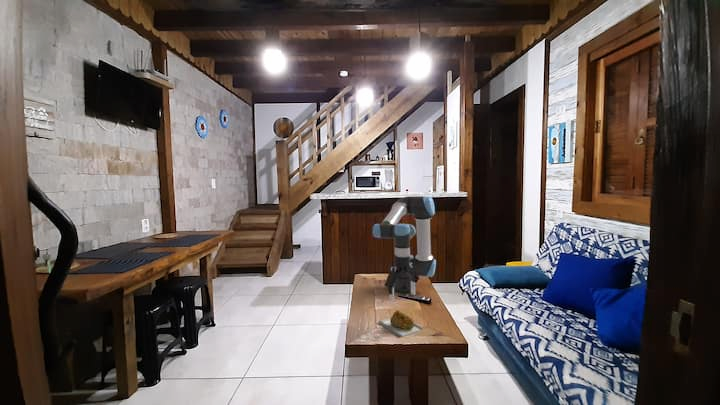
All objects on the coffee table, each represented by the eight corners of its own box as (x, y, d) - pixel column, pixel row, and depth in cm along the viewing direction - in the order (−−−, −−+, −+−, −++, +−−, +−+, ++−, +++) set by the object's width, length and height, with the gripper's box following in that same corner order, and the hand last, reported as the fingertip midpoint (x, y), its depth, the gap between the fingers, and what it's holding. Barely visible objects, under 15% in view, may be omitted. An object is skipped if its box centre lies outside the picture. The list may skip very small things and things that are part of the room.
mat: (399, 316, 166) (399, 314, 166) (422, 329, 151) (422, 327, 151) (378, 322, 159) (378, 320, 159) (400, 337, 144) (400, 334, 144)
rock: (402, 329, 158) (415, 317, 157) (404, 340, 150) (419, 326, 149) (386, 316, 157) (400, 303, 155) (388, 326, 149) (402, 312, 147)
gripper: (416, 250, 161) (416, 289, 163) (377, 257, 148) (377, 300, 150) (426, 253, 154) (426, 293, 156) (386, 261, 142) (387, 305, 143)
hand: (402, 297), depth 153 cm, fingers open, 13 cm apart
